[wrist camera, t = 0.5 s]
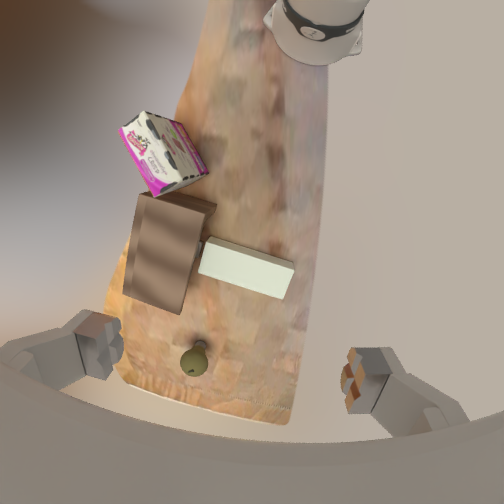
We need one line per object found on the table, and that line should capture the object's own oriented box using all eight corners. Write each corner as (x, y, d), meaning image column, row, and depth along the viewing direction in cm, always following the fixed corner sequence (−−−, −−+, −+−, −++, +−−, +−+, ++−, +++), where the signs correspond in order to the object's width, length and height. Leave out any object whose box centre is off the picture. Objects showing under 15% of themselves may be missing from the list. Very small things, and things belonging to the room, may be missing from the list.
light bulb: (198, 328, 60) (186, 356, 50) (218, 343, 60) (210, 372, 51) (184, 343, 61) (171, 371, 52) (204, 357, 62) (195, 386, 52)
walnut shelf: (161, 187, 51) (139, 193, 42) (217, 204, 51) (204, 214, 42) (143, 273, 56) (122, 293, 47) (193, 290, 57) (179, 315, 47)
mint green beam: (210, 236, 53) (206, 241, 49) (292, 262, 54) (294, 270, 50) (202, 264, 55) (197, 272, 51) (281, 290, 56) (282, 299, 52)
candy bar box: (158, 137, 48) (115, 129, 33) (181, 122, 47) (144, 107, 32) (187, 187, 51) (152, 199, 35) (210, 173, 50) (184, 179, 34)
